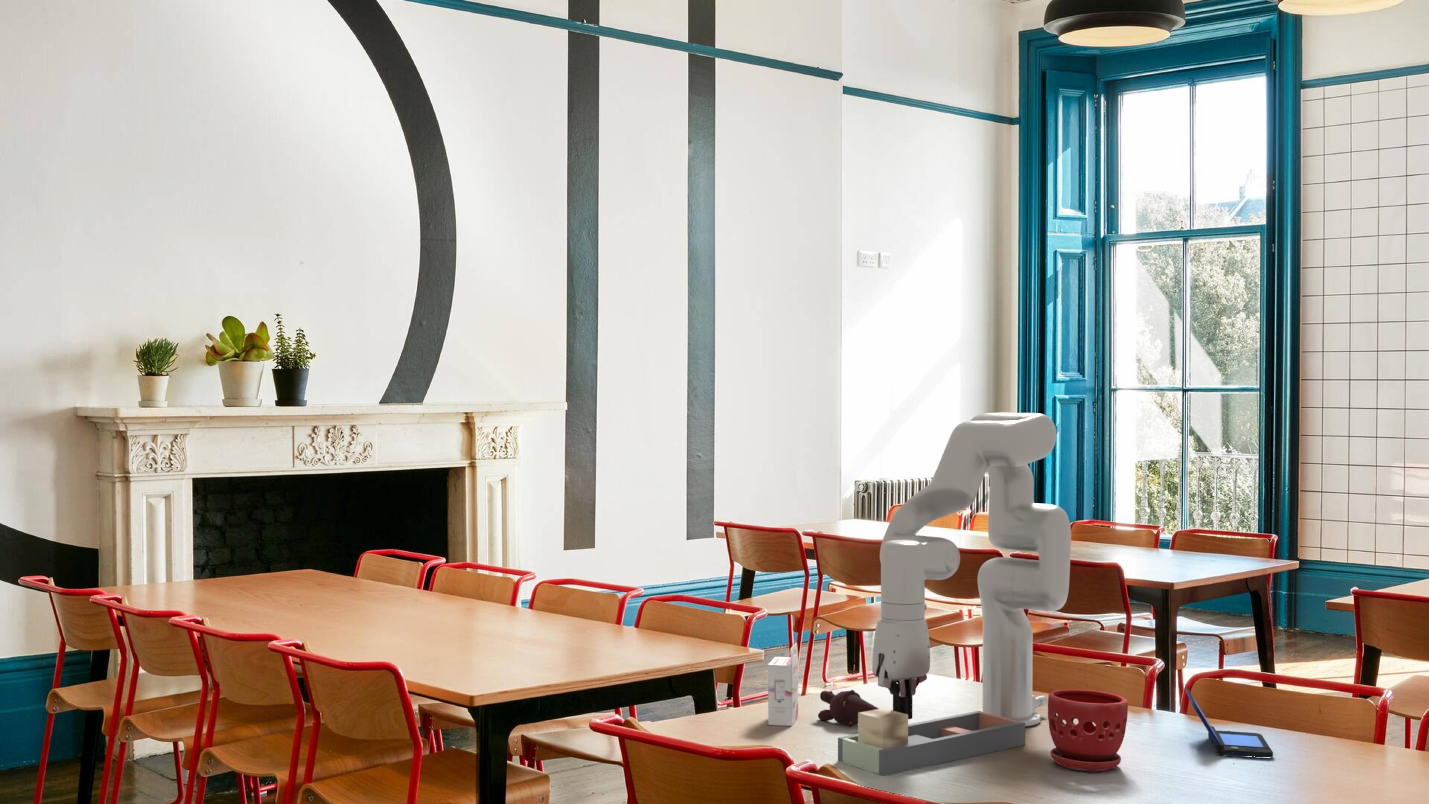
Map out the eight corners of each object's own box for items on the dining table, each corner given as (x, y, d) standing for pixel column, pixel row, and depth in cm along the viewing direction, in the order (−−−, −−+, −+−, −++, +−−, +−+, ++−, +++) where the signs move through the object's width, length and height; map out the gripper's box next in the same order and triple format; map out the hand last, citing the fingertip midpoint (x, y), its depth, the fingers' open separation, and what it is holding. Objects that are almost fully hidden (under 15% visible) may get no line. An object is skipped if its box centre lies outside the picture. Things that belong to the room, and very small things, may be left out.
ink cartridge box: (773, 715, 263) (774, 640, 263) (798, 716, 262) (799, 641, 262) (766, 725, 254) (767, 648, 254) (792, 726, 253) (792, 649, 253)
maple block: (883, 742, 231) (883, 708, 232) (907, 749, 227) (908, 714, 227) (857, 747, 228) (858, 712, 228) (882, 755, 223) (882, 719, 223)
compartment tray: (977, 732, 250) (977, 710, 250) (1025, 744, 240) (1025, 722, 240) (837, 760, 229) (837, 737, 229) (883, 775, 220) (884, 751, 220)
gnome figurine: (894, 694, 253) (833, 689, 263) (870, 690, 248) (809, 685, 258) (891, 731, 251) (829, 725, 262) (867, 728, 246) (805, 721, 257)
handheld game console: (1274, 761, 231) (1274, 708, 231) (1192, 756, 234) (1192, 703, 234) (1260, 740, 246) (1261, 689, 246) (1184, 735, 249) (1184, 685, 249)
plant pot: (1115, 779, 218) (1115, 706, 218) (1037, 768, 225) (1037, 697, 225) (1136, 762, 229) (1136, 692, 229) (1061, 751, 236) (1061, 683, 236)
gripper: (917, 605, 238) (917, 708, 237) (856, 613, 229) (855, 720, 229) (948, 610, 232) (948, 716, 231) (886, 618, 223) (886, 728, 223)
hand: (902, 717), depth 230 cm, fingers closed
